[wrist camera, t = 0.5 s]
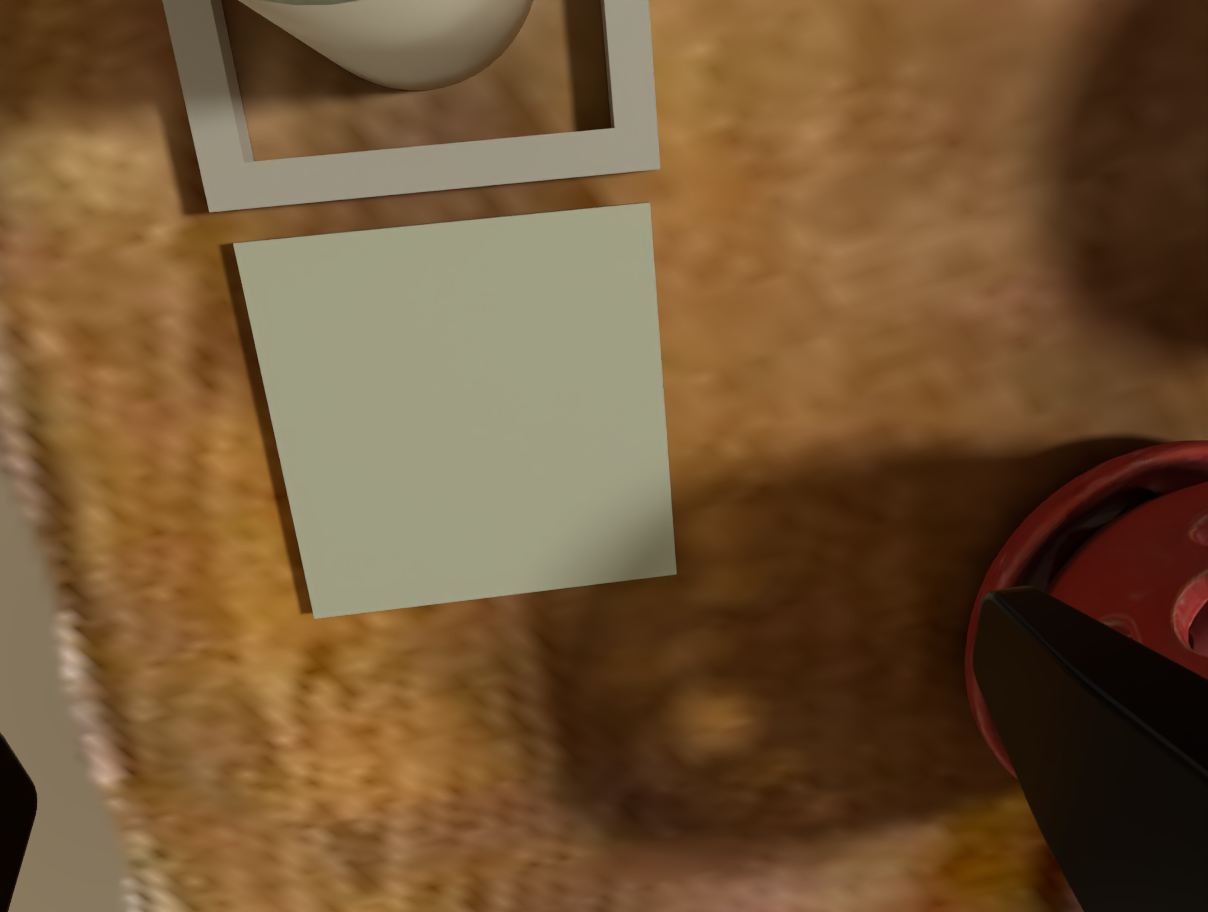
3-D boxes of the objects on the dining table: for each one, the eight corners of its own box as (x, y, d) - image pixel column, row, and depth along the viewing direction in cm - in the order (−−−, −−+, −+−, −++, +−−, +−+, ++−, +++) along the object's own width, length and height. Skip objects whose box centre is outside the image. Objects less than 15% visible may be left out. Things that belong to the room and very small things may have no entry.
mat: (674, 568, 25) (676, 574, 24) (317, 612, 24) (314, 618, 24) (647, 202, 22) (649, 202, 21) (238, 242, 21) (232, 243, 21)
